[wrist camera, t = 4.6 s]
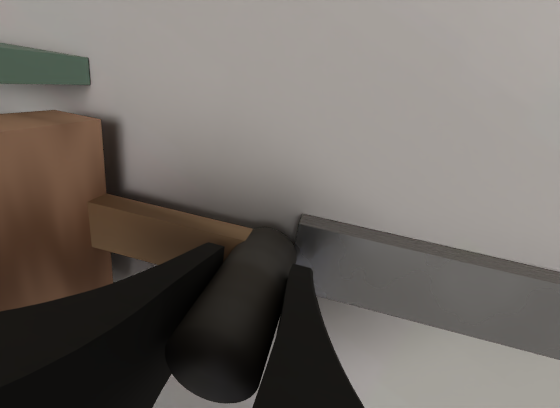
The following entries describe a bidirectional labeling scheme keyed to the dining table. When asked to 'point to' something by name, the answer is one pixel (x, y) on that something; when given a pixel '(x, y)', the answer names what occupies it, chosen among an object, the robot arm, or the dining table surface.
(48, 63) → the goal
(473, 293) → the rail
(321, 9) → the dining table surface
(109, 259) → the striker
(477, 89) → the dining table surface
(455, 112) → the dining table surface
